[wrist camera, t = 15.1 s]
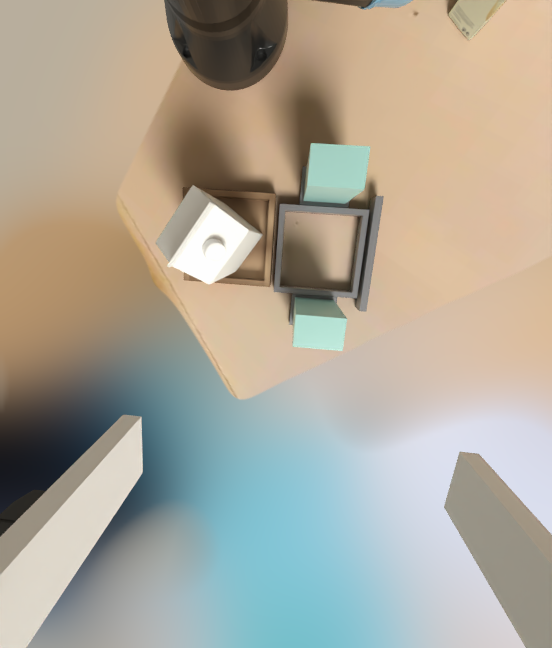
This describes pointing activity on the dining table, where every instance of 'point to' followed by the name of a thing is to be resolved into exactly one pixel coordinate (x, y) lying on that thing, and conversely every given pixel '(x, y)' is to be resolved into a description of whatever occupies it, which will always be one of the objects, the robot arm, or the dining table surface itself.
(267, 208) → the tray
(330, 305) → the holder
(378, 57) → the dining table surface
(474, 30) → the skincare box
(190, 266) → the milk carton
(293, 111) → the dining table surface
